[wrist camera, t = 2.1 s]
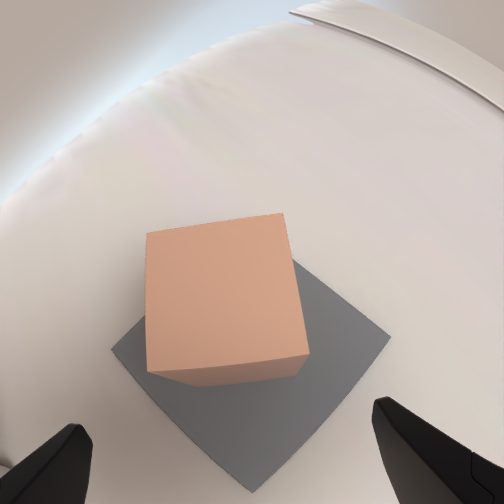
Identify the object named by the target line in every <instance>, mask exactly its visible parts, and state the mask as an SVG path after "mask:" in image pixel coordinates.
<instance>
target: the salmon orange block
mask: <svg viewBox="0 0 504 504" xmlns="http://www.w3.org/2000/svg"><path fill="white" fill-rule="evenodd" d="M145 326H146V357H147V372H150V373H153V374H156V375H159V376H162V377H165V378H168V379H171V380H175V381H178V382H181V383H184V384H188V385H191V386H195V387H208V386H219V385H229V384H238V383H247V382H255V381H263V380H270V379H277V378H284V377H291V376H295V375H296V374H297V372H298V371H299V369H300V368H301V366H302V365H303V363H304V362H305V360H306V359H307V357H308V356H309V354H310V353H309V347H308V341H307V335H306V330H305V324H304V318H303V313H302V307H301V302H300V297H299V291H298V286H297V281H296V275H295V270H294V265H293V260H292V255H291V250H290V245H289V240H288V235H287V230H286V225H285V220H284V215H283V213H278V214H270V215H263V216H256V217H249V218H242V219H235V220H228V221H221V222H214V223H207V224H201V225H194V226H188V227H181V228H175V229H169V230H162V231H156V232H150V233H147V239H146V271H145Z"/></svg>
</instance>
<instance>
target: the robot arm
mask: <svg viewBox="0 0 504 504" xmlns="http://www.w3.org/2000/svg"><path fill="white" fill-rule="evenodd" d="M372 425H373V428H374V432H375V435H376V439H377V443H378V446H379V450H380V453H381V457H382V461H383V464H384V467H385V469H386V472H387V474H388V477H389V479H390V482H391V484H392V486H393V489H394V491H395V494H396V496H397V498H398V501H399V503H400V504H504V468H502V467H500V466H498V465H495V464H494V463H492V462H490V461H488V460H486V459H485V458H483V457H481V456H480V455H478V454H476V453H475V452H472V451H471V450H470V449H468V448H467V447H465V446H463V445H462V444H460V443H459V442H457V441H456V440H454V439H452V438H451V437H449V436H448V435H446V434H445V433H443V432H442V431H440V430H438V429H437V428H435V427H434V426H432V425H431V424H429V423H428V422H426V421H425V420H423V419H422V418H420V417H419V416H417V415H415V414H414V413H412V412H411V411H409V410H408V409H406V408H405V407H403V406H402V405H400V404H399V403H398V402H396V401H395V400H393V399H392V398H390V397H382V398H379V399H376V400H375V401H374V405H373V412H372ZM92 449H93V443H92V440H91V438H90V437H89V435H88V434H87V432H86V431H85V429H84V427H83V426H82V425H80V424H74V423H70V424H68V425H67V426H66V427H64V428H63V429H62V430H61V431H59V432H58V433H57V434H56V435H54V436H53V437H52V438H51V439H49V440H48V441H47V442H45V443H44V444H43V445H42V446H40V447H39V448H38V449H37V450H35V451H34V452H33V453H31V454H30V455H29V456H28V457H26V458H25V459H24V460H23V461H21V462H20V463H19V464H17V465H16V466H15V467H13V468H12V469H11V470H10V471H8V472H7V473H6V474H4V475H3V476H2V477H1V478H0V504H84V503H85V498H86V493H87V489H88V483H89V475H90V466H91V457H92Z"/></svg>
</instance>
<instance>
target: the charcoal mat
mask: <svg viewBox="0 0 504 504" xmlns="http://www.w3.org/2000/svg"><path fill="white" fill-rule="evenodd" d="M292 260H293V259H292ZM293 265H294V270H295V275H296V281H297V286H298V291H299V297H300V302H301V307H302V313H303V318H304V324H305V330H306V335H307V341H308V347H309V353H310V354H309V356H308V357H307V359H306V360H305V362H304V363H303V365H302V366H301V368H300V369H299V371H298V372H297V374H296V375H295V376H291V377H284V378H277V379H270V380H263V381H255V382H247V383H238V384H229V385H219V386H208V387H195V386H191V385H188V384H184V383H181V382H178V381H175V380H171V379H168V378H165V377H162V376H159V375H156V374H153V373H150V372H147V357H146V326H145V316H144V317H143V318H142V319H141V320H140V321H139V322H138V323H137V324H136V325H135V326H134V327H133V328H132V329H131V330H130V331H129V332H128V333H127V334H126V335H125V336H124V337H123V338H122V339H121V340H120V341H119V342H118V343H117V344H116V345H115V346H114V347H113V348H112V349H111V350H112V351H113V353H114V354H115V355H116V357H117V358H118V359H119V360H120V362H121V363H122V364H123V365H124V366H125V368H126V369H127V370H128V371H129V373H130V374H131V375H132V376H133V377H134V378H135V380H136V381H137V382H138V383H139V384H140V386H141V387H142V388H143V389H144V390H145V391H146V392H147V393H148V395H149V396H150V397H151V398H152V399H153V400H154V401H155V402H156V403H157V405H158V406H159V407H160V408H161V409H162V410H163V411H164V412H165V413H166V414H167V415H168V416H169V417H170V418H171V419H172V421H173V422H174V423H175V424H176V425H177V426H178V427H179V428H180V429H181V430H182V431H183V432H184V433H185V434H186V435H187V436H188V437H189V438H190V439H191V440H192V441H193V442H195V443H196V444H197V445H198V446H199V447H200V448H201V449H202V450H203V451H204V452H205V453H206V454H207V455H208V456H209V457H211V458H212V459H213V460H214V461H215V462H216V463H217V464H218V465H219V466H221V467H222V468H223V469H224V470H225V471H226V472H227V473H229V474H230V475H231V476H232V477H233V478H234V479H236V480H237V481H238V482H239V483H240V484H242V485H243V486H244V487H245V488H247V489H248V490H249V491H250V492H252V493H253V492H254V491H255V490H257V489H258V488H259V487H260V486H261V485H262V484H263V483H264V482H265V481H266V480H268V479H269V478H270V477H271V476H272V475H273V474H274V473H275V472H276V471H277V470H278V469H279V468H280V467H281V466H282V465H283V464H284V463H285V462H286V461H287V460H288V459H289V458H290V457H291V456H292V455H293V454H294V453H295V452H296V451H297V450H298V449H299V448H300V447H301V446H302V445H303V444H304V443H305V442H306V441H307V440H308V439H309V438H310V437H311V436H312V435H313V433H314V432H315V431H316V430H317V429H318V428H319V427H320V426H321V425H322V424H323V422H324V421H325V420H326V419H327V418H328V417H329V416H330V415H331V413H332V412H333V411H334V410H335V409H336V408H337V406H338V405H339V404H340V403H341V402H342V401H343V399H344V398H345V397H346V396H347V395H348V393H349V392H350V391H351V390H352V388H353V387H354V386H355V385H356V383H357V382H358V381H359V380H360V378H361V377H362V376H363V375H364V373H365V372H366V371H367V369H368V368H369V367H370V365H371V364H372V363H373V361H374V360H375V359H376V357H377V356H378V355H379V353H380V352H381V351H382V349H383V348H384V346H385V345H386V344H387V342H388V341H389V339H390V338H391V336H390V335H388V334H387V333H386V332H385V331H383V330H382V329H381V328H380V327H378V326H377V325H376V324H375V323H373V322H372V321H371V320H370V319H368V318H367V317H366V316H365V315H363V314H362V313H361V312H359V311H358V310H357V309H356V308H354V307H353V306H352V305H351V304H349V303H348V302H347V301H346V300H344V299H343V298H342V297H340V296H339V295H338V294H337V293H335V292H334V291H333V290H332V289H330V288H329V287H328V286H326V285H325V284H324V283H323V282H321V281H320V280H319V279H318V278H316V277H315V276H314V275H312V274H311V273H310V272H309V271H307V270H306V269H305V268H303V267H302V266H301V265H300V264H298V263H297V262H296V261H294V260H293Z"/></svg>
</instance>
